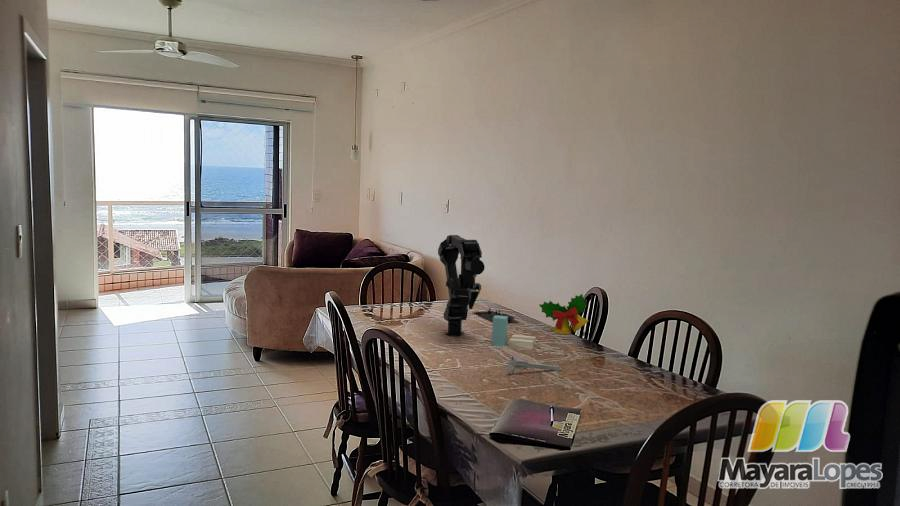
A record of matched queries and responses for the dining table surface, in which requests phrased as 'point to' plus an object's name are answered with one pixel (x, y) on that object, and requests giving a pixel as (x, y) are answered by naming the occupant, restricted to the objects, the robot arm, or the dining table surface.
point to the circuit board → (490, 314)
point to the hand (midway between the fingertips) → (467, 310)
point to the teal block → (499, 330)
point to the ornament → (566, 314)
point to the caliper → (528, 365)
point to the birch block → (522, 342)
